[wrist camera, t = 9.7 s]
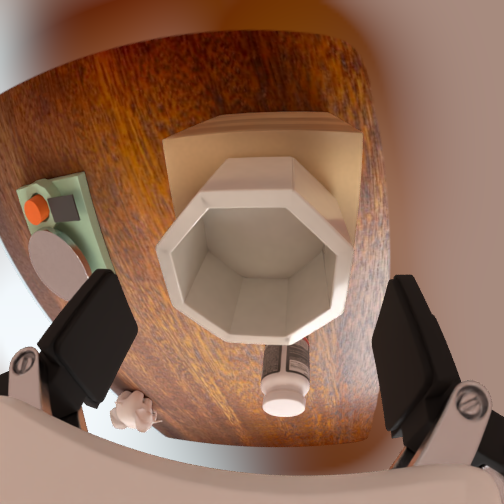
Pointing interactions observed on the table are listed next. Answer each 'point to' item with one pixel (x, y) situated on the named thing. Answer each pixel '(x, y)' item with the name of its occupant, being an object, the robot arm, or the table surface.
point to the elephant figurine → (133, 412)
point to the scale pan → (59, 252)
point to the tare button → (36, 209)
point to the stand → (269, 153)
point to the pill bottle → (285, 378)
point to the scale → (79, 232)
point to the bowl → (259, 253)
